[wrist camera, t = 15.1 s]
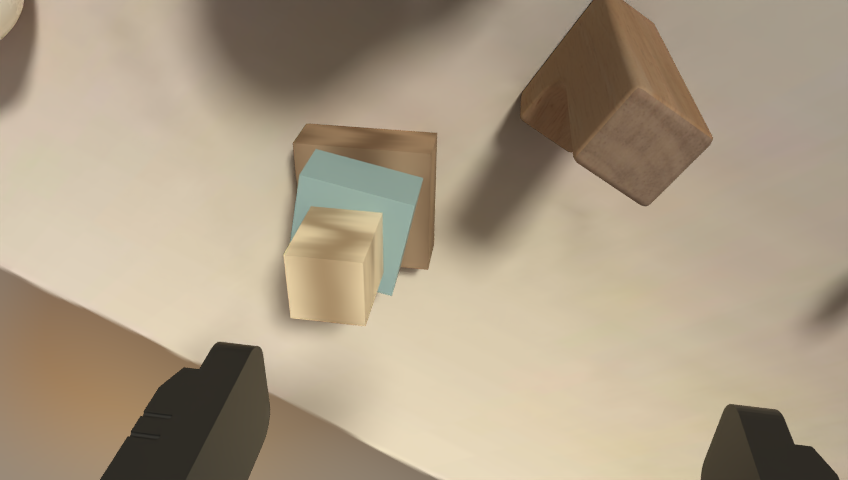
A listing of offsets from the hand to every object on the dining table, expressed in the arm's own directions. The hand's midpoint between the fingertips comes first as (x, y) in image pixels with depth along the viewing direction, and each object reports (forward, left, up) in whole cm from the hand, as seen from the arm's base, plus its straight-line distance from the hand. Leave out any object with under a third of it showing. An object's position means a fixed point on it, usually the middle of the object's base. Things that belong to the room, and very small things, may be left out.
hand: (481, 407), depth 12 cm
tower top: (-10, -17, -35) cm, 40 cm away
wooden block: (+5, -6, -38) cm, 39 cm away
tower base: (-10, -17, -39) cm, 43 cm away
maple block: (-10, -18, -31) cm, 37 cm away
